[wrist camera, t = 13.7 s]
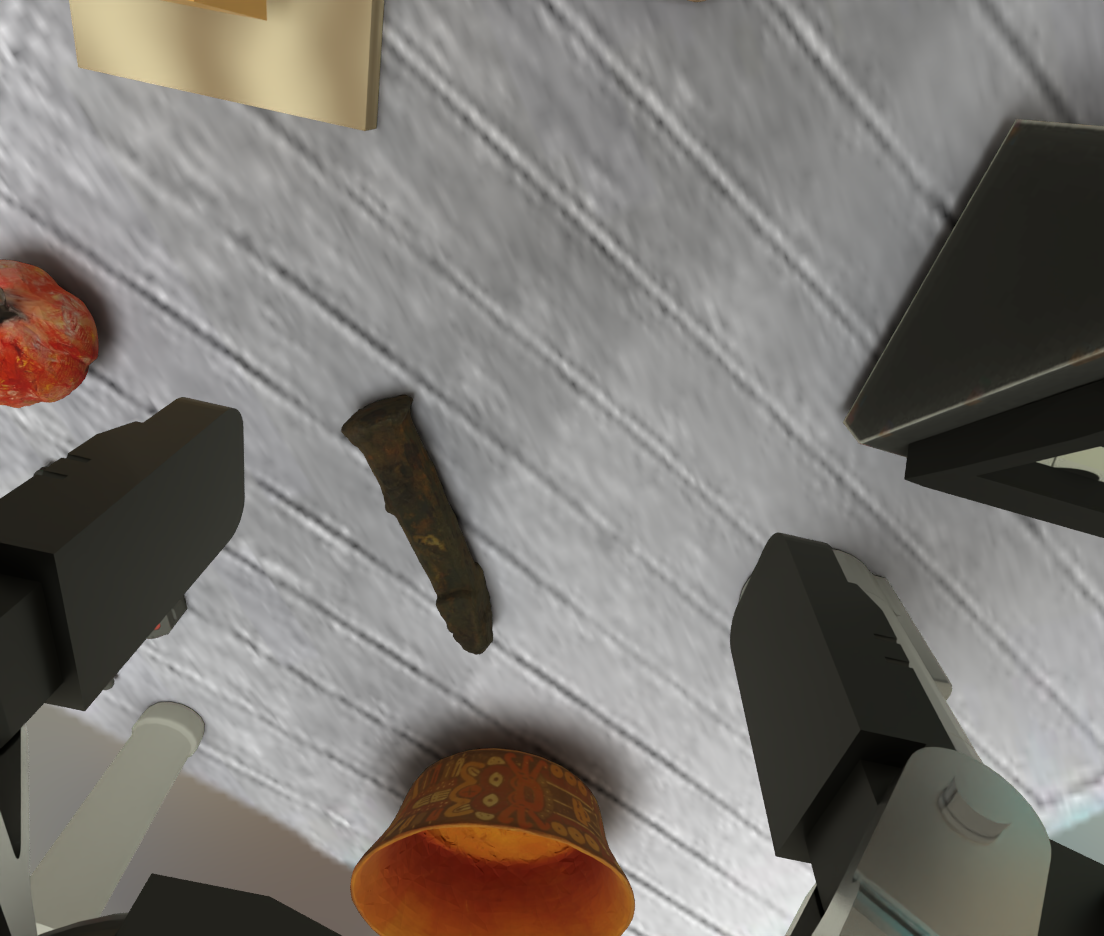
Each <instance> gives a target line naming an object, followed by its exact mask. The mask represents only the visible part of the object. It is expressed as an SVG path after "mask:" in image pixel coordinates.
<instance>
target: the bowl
mask: <svg viewBox="0 0 1104 936" xmlns="http://www.w3.org/2000/svg"><path fill="white" fill-rule="evenodd" d="M350 890H351V897H352V901H353V902H354V905H355V906H356V908H357V910H358V911H359V913H360V915H361V916H362V917H363V919H364V920H365V921H366V922H367V923H368V925H369V926H370V927H371V928H372V929H373V930H374V931H375V932H376V933H378V934H379V935H380V936H621V935H622V934H623V933H624V931H625V930H626V929H627V928H628V926H629V924H630V923H631V921H632V919H633V915H634V910H635V899H634V894H633V890H632V888H631V886H630V883H629V881H628V879H627V877H626V875H625V874H624V872H623V871H622V869H621V868H620V866H619V865H618V863H617V861H616V859H615V857H614V856H613V854H612V852H611V850H610V849H609V846H608V843H607V840H606V837H605V832H604V826H603V822H602V817H601V813H600V809H599V806H598V803H597V801H596V799H595V797H594V796H593V794H592V792H591V791H590V789H589V788H588V787H587V786H586V785H585V784H584V783H583V782H582V781H581V780H580V779H579V778H578V777H576V776H575V775H574V774H573V773H571V772H570V771H568V770H567V769H565V768H563V767H562V766H560V765H558V764H556V763H553V762H551V761H549V760H547V759H544V758H542V757H540V756H536V755H533V754H529V753H525V752H521V751H516V750H507V749H497V748H487V749H476V750H468V751H465V752H461V753H457V754H455V755H452V756H449V757H446V758H443V759H441V760H439V761H437V762H436V763H434V764H433V765H431V766H429V767H428V768H426V770H425V771H424V772H423V773H422V774H421V775H420V776H419V777H418V779H417V780H416V781H415V782H414V783H413V785H412V786H411V788H410V790H409V792H408V793H407V795H406V797H405V799H404V801H403V803H402V805H401V808H400V810H399V812H398V813H397V815H396V817H395V819H394V820H393V822H392V823H391V825H390V826H389V828H388V829H387V830H386V831H385V832H384V833H383V835H382V836H381V837H380V838H379V839H378V840H377V841H376V842H375V843H374V844H373V845H372V847H371V848H370V849H369V850H368V851H367V852H366V853H365V854H364V855H363V856H362V858H361V859H360V861H359V862H358V863H357V865H356V866H355V868H354V870H353V874H352V878H351V885H350Z"/></svg>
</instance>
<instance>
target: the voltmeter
mask: <svg viewBox="0 0 1104 936" xmlns="http://www.w3.org/2000/svg"><path fill="white" fill-rule="evenodd" d="M843 423H844V425H845V426H846V427H847V428H848V430H849V431H850V432H851V434H852V435H853V436H854V438H855V439H856V440H857V441H858V443H859V444H863V445H866V446H870V447H873V448H876V449H880V450H883V451H887V452H890V453H894V454H897V455H901V456H904V457H907V463H906V471H905V480H908V481H911V482H913V483H916V484H919V485H921V486H924V487H927V488H931V489H934V490H938V491H941V492H945V493H948V494H952V495H955V496H959V497H962V498H966V499H969V500H973V501H976V502H980V503H983V504H987V505H990V506H994V507H997V508H1001V509H1004V510H1007V511H1011V512H1014V513H1018V514H1021V515H1025V516H1028V517H1032V518H1035V519H1039V520H1042V521H1046V522H1049V523H1053V524H1056V525H1060V526H1063V527H1067V528H1070V529H1074V530H1077V531H1081V532H1084V533H1088V534H1091V535H1095V536H1098V537H1102V538H1104V126H1095V125H1083V124H1071V123H1058V122H1046V121H1034V120H1022V119H1016V120H1015V122H1014V124H1013V126H1012V127H1011V129H1010V131H1009V133H1008V134H1007V136H1006V138H1005V140H1004V141H1003V143H1002V145H1001V147H1000V148H999V150H998V152H997V154H996V155H995V157H994V159H993V160H992V162H991V164H990V166H989V167H988V169H987V171H986V173H985V174H984V176H983V178H982V180H981V181H980V183H979V185H978V187H977V188H976V190H975V192H974V194H973V195H972V197H971V199H970V201H969V202H968V204H967V206H966V208H965V209H964V211H963V213H962V215H961V216H960V218H959V220H958V222H957V223H956V225H955V227H954V229H953V230H952V232H951V234H950V236H949V237H948V239H947V241H946V243H945V244H944V246H943V248H942V250H941V251H940V253H939V255H938V257H937V259H936V260H935V262H934V264H933V266H932V267H931V269H930V271H929V273H928V274H927V276H926V278H925V280H924V281H923V283H922V285H921V287H920V288H919V290H918V292H917V294H916V295H915V297H914V299H913V301H912V302H911V304H910V306H909V308H908V309H907V311H906V313H905V315H904V316H903V318H902V320H901V322H900V323H899V325H898V327H897V329H896V330H895V332H894V334H893V336H892V337H891V339H890V341H889V343H888V344H887V346H886V348H885V350H884V351H883V353H882V355H881V357H880V358H879V360H878V362H877V364H876V365H875V367H874V369H873V371H872V372H871V374H870V376H869V378H868V379H867V381H866V383H865V385H864V386H863V388H862V390H861V392H860V393H859V395H858V397H857V399H856V400H855V402H854V404H853V406H852V408H851V409H850V411H849V413H848V415H847V416H846V418H845V420H844V422H843Z"/></svg>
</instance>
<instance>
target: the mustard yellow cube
mask: <svg viewBox="0 0 1104 936" xmlns="http://www.w3.org/2000/svg"><path fill="white" fill-rule="evenodd" d="M162 1H167V2H172V3H177V4H183V5H188V6H193V7H198V8H203V9H208V10H214V11H219V12H224V13H229V14H234V15H240V16H245V17H250V18H255V19H260V20H265V21H267V5H266V0H162Z"/></svg>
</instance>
